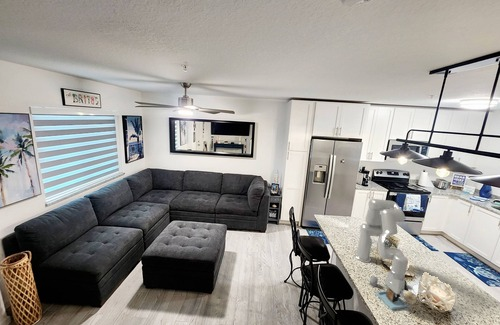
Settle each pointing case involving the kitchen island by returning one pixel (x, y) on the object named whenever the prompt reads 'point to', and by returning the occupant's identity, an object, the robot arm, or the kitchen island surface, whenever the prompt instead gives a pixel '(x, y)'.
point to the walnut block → (390, 294)
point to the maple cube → (410, 297)
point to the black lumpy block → (405, 286)
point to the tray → (389, 303)
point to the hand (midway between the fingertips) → (391, 297)
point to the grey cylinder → (373, 281)
